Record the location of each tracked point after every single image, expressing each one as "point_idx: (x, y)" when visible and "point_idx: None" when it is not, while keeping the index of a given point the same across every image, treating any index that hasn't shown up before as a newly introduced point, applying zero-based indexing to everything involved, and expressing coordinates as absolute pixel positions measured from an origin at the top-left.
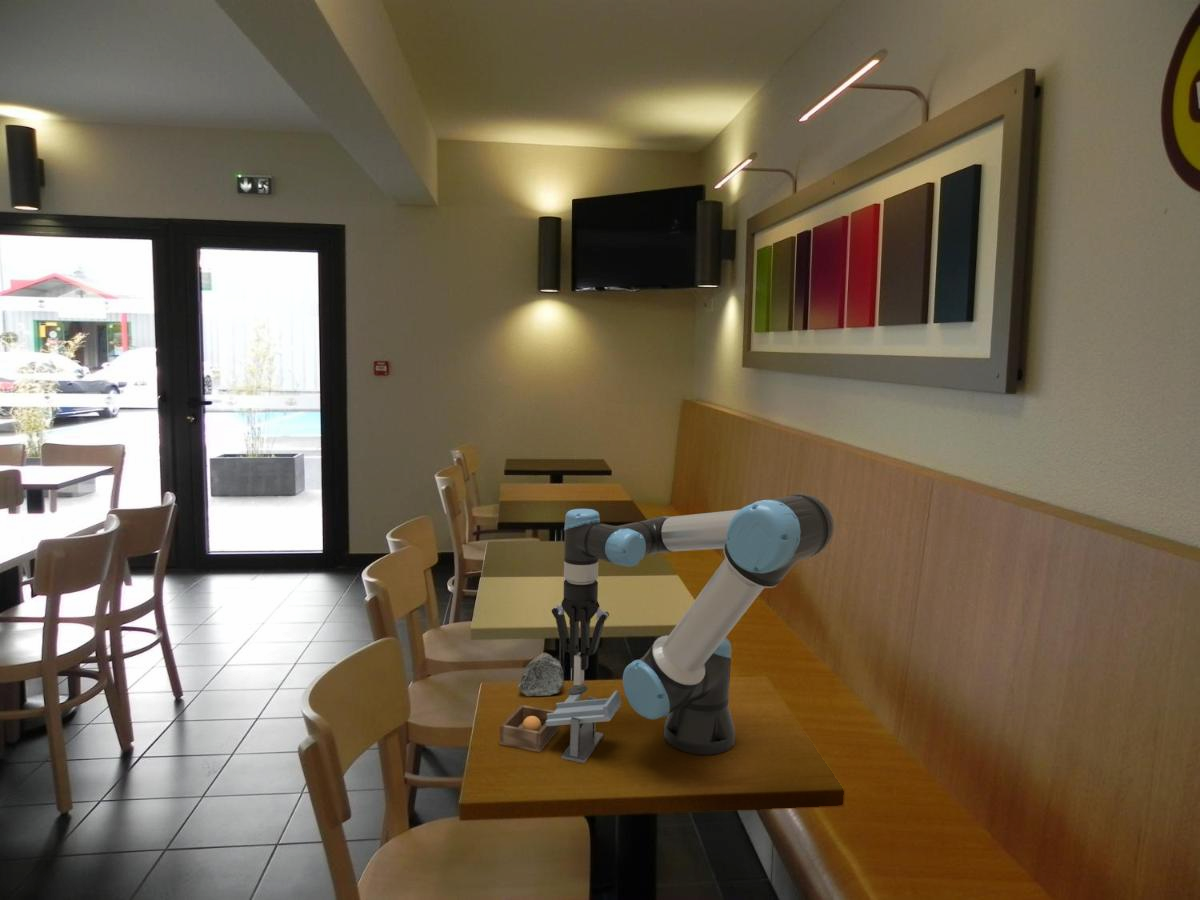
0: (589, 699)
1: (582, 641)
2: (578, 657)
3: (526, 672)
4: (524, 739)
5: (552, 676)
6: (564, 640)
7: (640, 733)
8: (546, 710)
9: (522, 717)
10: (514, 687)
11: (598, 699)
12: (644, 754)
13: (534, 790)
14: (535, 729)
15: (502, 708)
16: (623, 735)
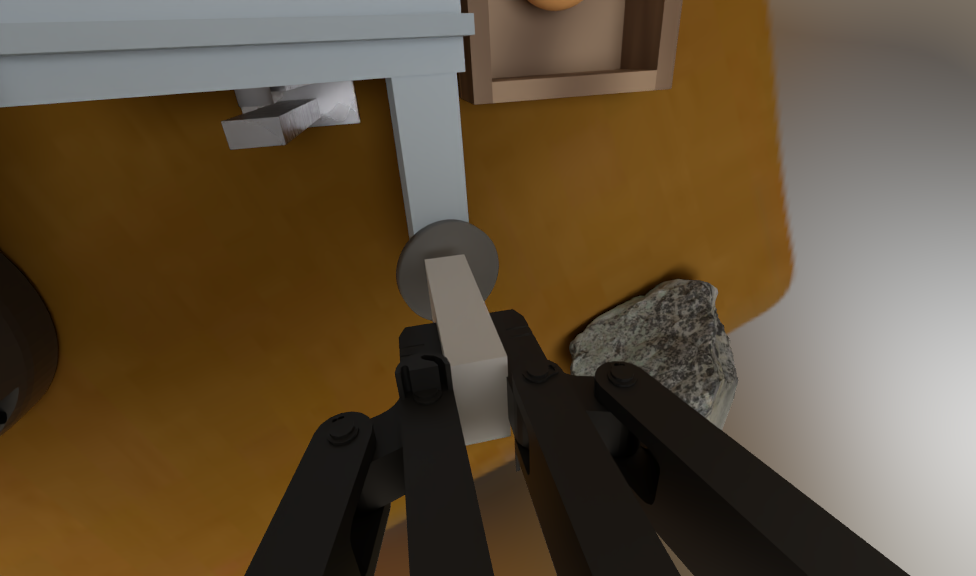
0: (268, 116)
1: (455, 507)
2: (465, 359)
3: (722, 346)
4: None
5: None
6: (671, 440)
7: (123, 231)
8: (537, 87)
9: (630, 67)
10: (718, 313)
11: (113, 38)
12: None
13: None
14: None
15: (722, 158)
16: (176, 179)
